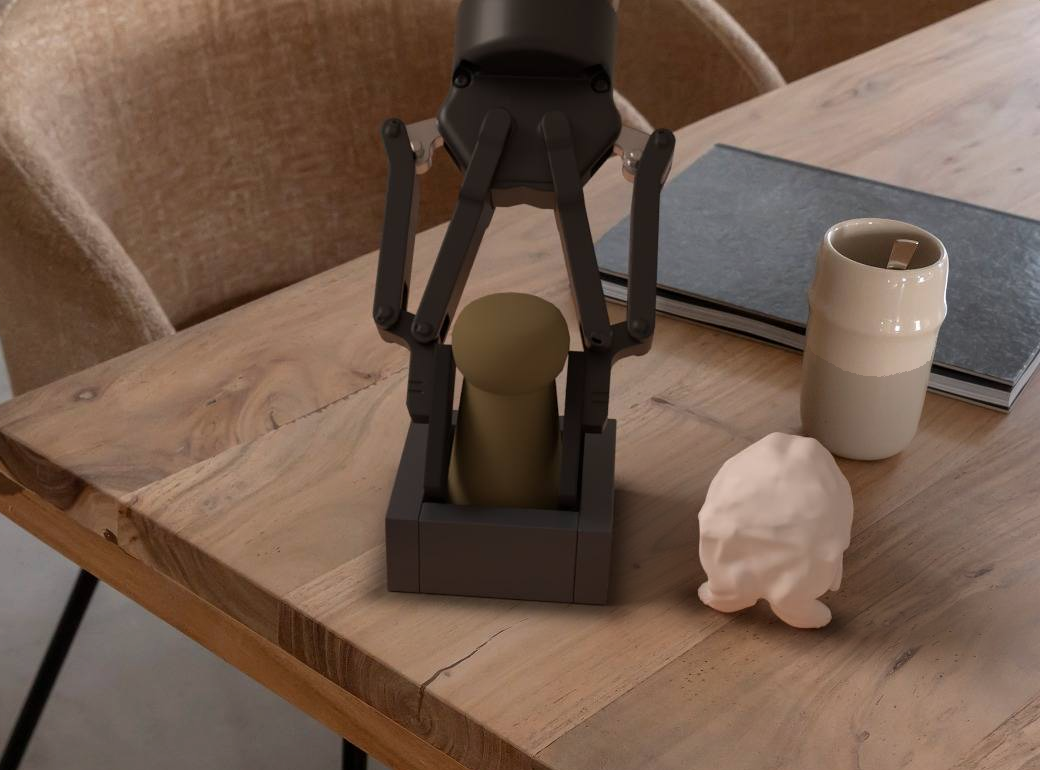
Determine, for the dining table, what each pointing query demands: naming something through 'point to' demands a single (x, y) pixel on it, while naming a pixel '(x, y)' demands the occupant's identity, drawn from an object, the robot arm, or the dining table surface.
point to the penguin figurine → (776, 530)
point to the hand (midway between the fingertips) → (500, 497)
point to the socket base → (502, 534)
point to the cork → (508, 403)
